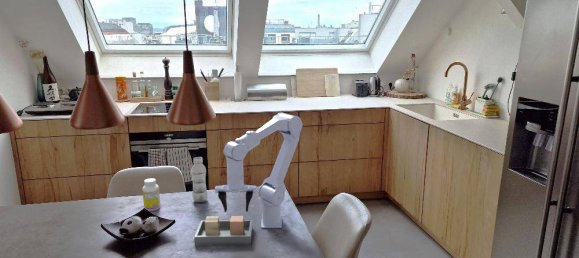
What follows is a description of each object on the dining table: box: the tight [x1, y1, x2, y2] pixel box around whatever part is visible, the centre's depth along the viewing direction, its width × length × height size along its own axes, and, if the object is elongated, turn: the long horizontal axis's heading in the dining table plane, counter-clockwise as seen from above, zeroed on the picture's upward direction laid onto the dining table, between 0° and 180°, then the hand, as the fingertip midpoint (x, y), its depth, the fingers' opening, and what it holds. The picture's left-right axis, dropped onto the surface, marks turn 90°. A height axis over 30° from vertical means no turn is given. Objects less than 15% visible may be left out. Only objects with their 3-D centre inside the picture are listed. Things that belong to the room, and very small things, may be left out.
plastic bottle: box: [190, 156, 209, 203], centre depth 178 cm, size 6×7×20 cm
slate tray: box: [193, 219, 254, 247], centre depth 149 cm, size 13×20×4 cm, turn 92°
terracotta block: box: [229, 215, 245, 235], centre depth 149 cm, size 4×4×6 cm
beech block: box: [204, 215, 220, 236], centre depth 148 cm, size 4×4×6 cm
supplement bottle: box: [142, 177, 161, 212], centre depth 171 cm, size 7×7×13 cm
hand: (236, 210), depth 147 cm, fingers open, 7 cm apart
